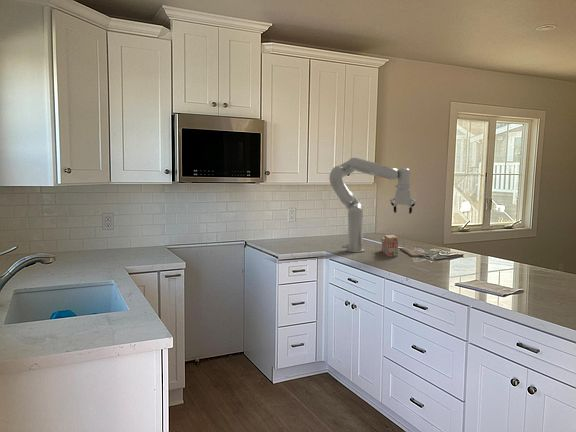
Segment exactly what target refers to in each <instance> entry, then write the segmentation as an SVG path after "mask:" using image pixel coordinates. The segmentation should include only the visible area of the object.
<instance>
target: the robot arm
mask: <svg viewBox="0 0 576 432" xmlns="http://www.w3.org/2000/svg"><path fill="white" fill-rule="evenodd" d="M354 172H358V173H362V174H367V175H370V176H375V177H380V178H384V179H387V180H389V181H390V180H391V181H393V180H397V184H396V185H394V186H395V188H396V189H395V195H394V197H393V198H392V199H390V200H389V202H390V204H391V206H392V207H393V212H394V214H396V213H397V206H398V205H400V206H401V205H402V206H403V205H404V206H407V205H408V206H409V208H408V209H409V210H408V214H412V213H413V208H414V207H415V205H416V203H417V200H416V199H414V198H412V192H411V189H410V181H411V179H410V178H411V177H410V176H411V170H410V168H405V167H403V168H396V167H395V168H393V167H390V166H387V165H382V164H379V163H377V162H374V161H369V160H365V159H363V158H358V157H350V158H349V160H347V161H345V162H343V163H342V164H340V165H336V166H334V167H333V168H332V169H331V171H330V173H329V176H328V177H329V178H328V179H329V183H330V185H331V188H332V190H334V192H335V194H336V196H337V197H338V199H339V201H340V202H341V204H343V205H344V206H345V208H346V209H347V218H348V219H347V221H348V223H347V224H348V227H347V228H348V230H347V233H348V235H347V236H348V243H347V244H342V245H341V249H345V251H346V252H349V253H362V252H366V249H365V248H364V247H363V243H364V242H363V233H364V232H363V229H364V227H363V225H364V224H363V213H364V208H363V205H362V204H361V203H360V201H359V200H358V198H357V196H356V194H355V193H354V192H353V191H351V190H350V189H349V187H347V185H346V184H345V182H344V180H343V178H344V177H346V176H348V175H350V174H351V173H354ZM412 202H413V203H412Z"/></svg>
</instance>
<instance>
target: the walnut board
mask: <svg viewBox="0 0 576 432" xmlns="http://www.w3.org/2000/svg"><path fill="white" fill-rule="evenodd" d="M414 249H417V250H422V248H420V247H418V246H417V247H400V251H402V252H404V253H405V254H407V255H408V256H410V257H411V258H423V257H422V256H424V255H425V254H421V253H417V252H415V251H413V250H414Z"/></svg>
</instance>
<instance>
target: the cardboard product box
mask: <svg viewBox="0 0 576 432" xmlns="http://www.w3.org/2000/svg"><path fill="white" fill-rule="evenodd" d="M381 251H382V253H384V255H386V256H387V257H388V258H389V257H392V258H393V257H398V256H399V238H398V236H396V235H394V234H385V235H384V237H381Z"/></svg>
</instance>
